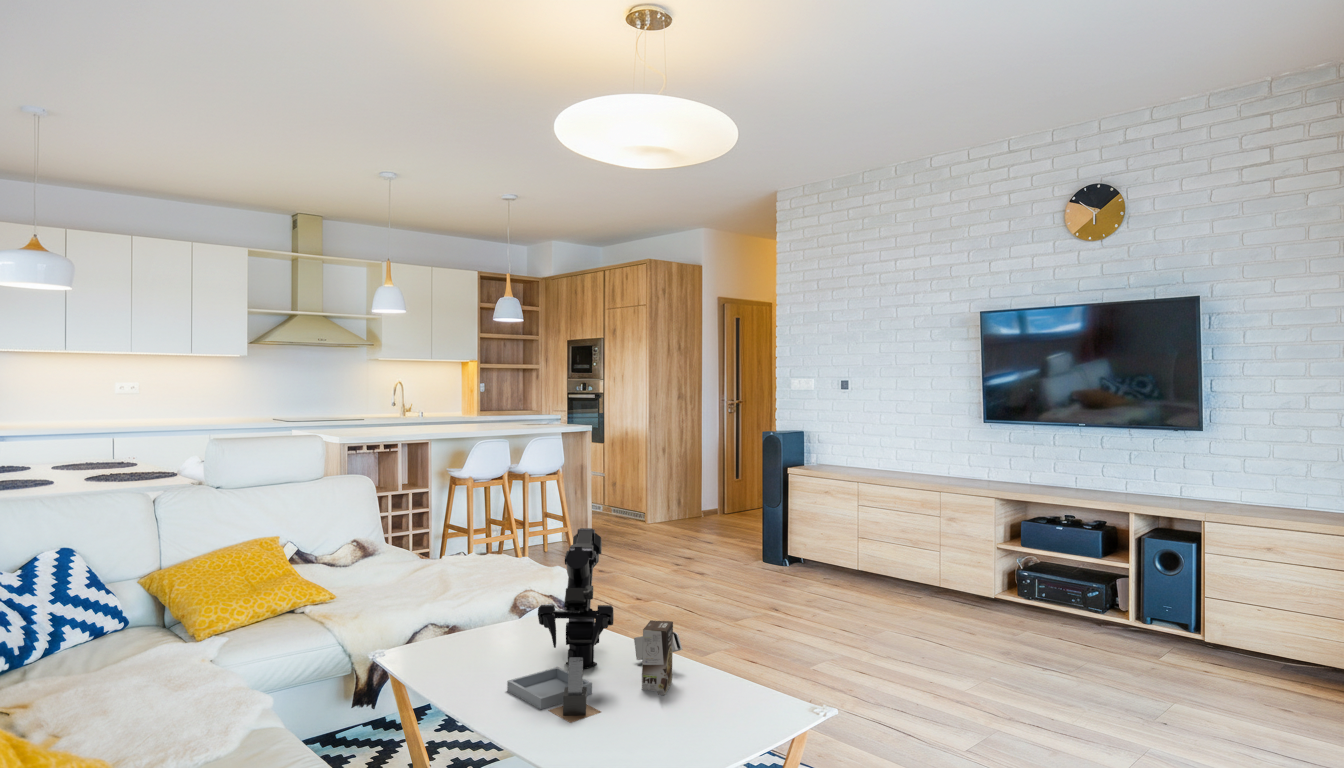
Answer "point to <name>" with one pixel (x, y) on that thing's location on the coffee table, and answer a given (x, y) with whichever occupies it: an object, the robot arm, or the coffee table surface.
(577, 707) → the strut
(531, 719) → the coffee table surface
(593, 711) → the stud mount
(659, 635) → the coffee box
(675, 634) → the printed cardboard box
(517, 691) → the bin
